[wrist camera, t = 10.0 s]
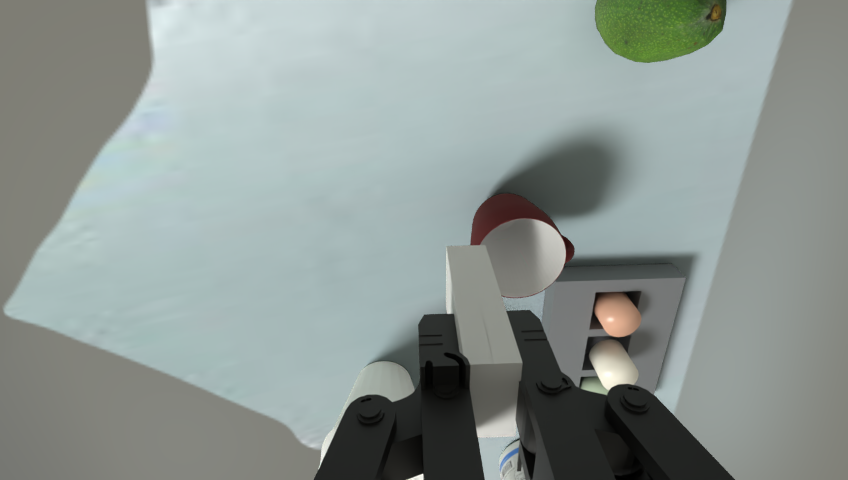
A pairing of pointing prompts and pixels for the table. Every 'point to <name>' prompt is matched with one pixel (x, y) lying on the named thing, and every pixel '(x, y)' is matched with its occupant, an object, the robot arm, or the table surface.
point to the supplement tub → (510, 463)
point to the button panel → (580, 328)
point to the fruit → (658, 26)
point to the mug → (520, 244)
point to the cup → (377, 390)
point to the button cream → (612, 364)
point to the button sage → (592, 384)
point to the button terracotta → (616, 313)
